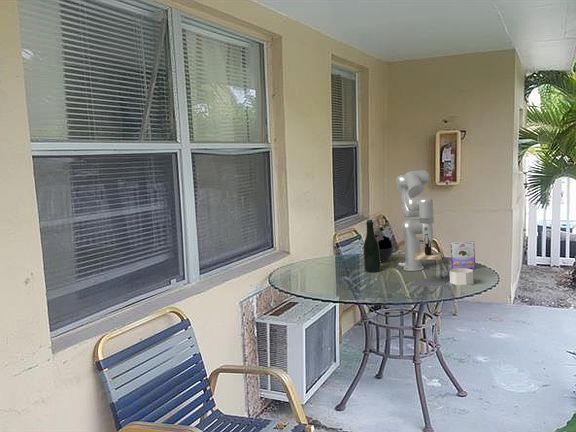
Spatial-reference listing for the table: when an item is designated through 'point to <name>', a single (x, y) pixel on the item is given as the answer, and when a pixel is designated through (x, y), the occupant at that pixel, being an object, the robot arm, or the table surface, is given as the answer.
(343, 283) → the table surface
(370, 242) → the beer bottle
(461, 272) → the bowl
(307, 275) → the table surface
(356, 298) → the table surface
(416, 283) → the mat
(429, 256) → the lid
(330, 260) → the table surface
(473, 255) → the candy box
